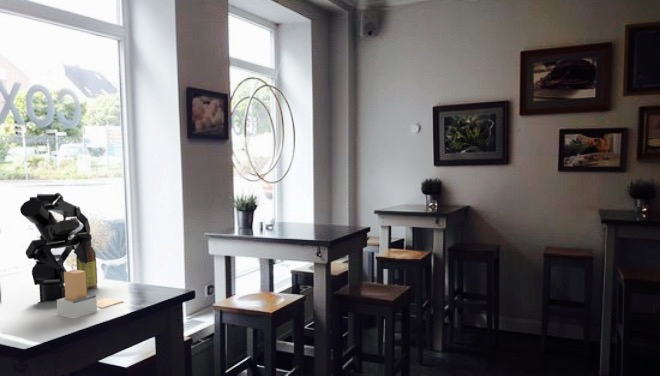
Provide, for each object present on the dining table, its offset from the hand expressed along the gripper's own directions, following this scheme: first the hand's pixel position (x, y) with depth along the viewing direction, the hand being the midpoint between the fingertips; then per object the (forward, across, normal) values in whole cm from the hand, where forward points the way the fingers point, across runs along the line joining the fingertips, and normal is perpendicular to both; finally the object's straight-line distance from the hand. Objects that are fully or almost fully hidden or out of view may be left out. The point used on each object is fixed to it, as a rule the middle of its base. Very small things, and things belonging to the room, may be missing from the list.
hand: (73, 265), depth 150 cm
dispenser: (+14, +1, +5) cm, 15 cm away
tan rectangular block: (+13, -4, +5) cm, 14 cm away
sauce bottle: (-3, +18, +23) cm, 29 cm away
